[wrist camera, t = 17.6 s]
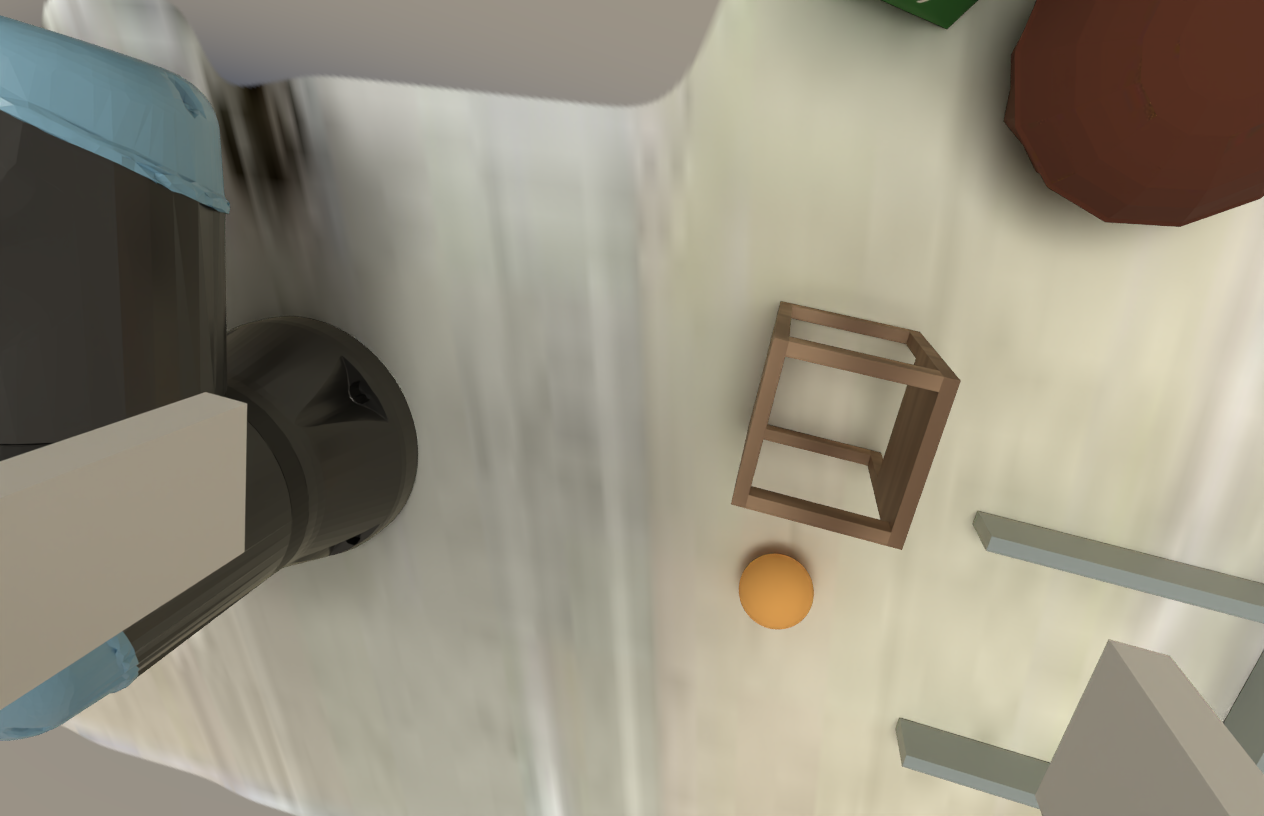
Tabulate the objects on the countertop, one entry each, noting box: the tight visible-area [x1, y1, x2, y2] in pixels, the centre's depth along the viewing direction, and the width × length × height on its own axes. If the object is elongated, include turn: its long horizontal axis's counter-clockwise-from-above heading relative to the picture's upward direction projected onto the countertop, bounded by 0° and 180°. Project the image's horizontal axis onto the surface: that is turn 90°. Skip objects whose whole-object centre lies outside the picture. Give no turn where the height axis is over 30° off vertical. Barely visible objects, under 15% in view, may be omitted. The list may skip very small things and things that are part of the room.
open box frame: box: [731, 301, 960, 550], centre depth 33 cm, size 7×7×10 cm
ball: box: [739, 554, 814, 629], centre depth 40 cm, size 4×4×4 cm
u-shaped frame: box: [896, 511, 1264, 809], centre depth 38 cm, size 16×14×3 cm
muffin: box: [1004, 0, 1264, 227], centre depth 27 cm, size 12×11×10 cm
